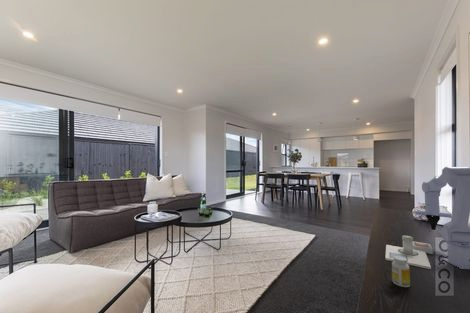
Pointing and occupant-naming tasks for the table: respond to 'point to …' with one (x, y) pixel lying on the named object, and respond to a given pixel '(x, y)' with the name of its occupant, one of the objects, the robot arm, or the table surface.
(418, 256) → the picture board
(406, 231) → the table surface
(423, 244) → the button
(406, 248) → the marker
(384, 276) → the table surface
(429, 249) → the button box
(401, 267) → the supplement bottle
